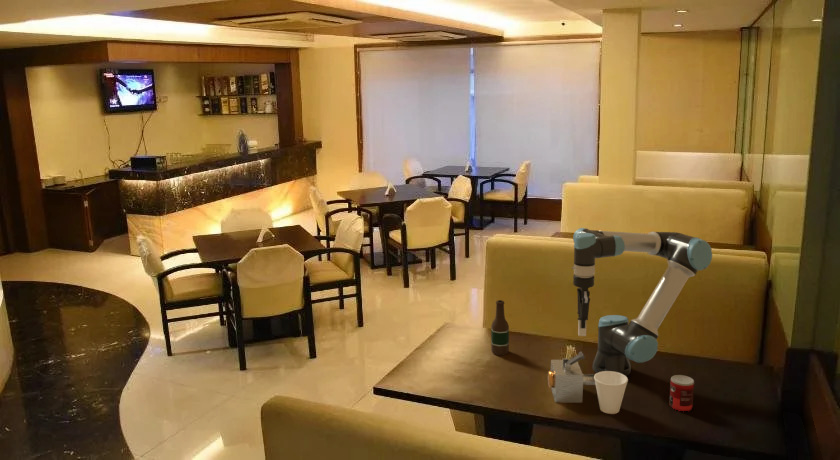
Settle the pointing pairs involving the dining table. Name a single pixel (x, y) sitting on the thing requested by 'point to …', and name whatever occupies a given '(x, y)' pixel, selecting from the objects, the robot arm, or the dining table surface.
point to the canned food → (681, 392)
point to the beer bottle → (500, 331)
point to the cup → (610, 390)
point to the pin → (587, 379)
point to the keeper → (575, 358)
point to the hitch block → (567, 381)
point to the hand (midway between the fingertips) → (582, 335)
